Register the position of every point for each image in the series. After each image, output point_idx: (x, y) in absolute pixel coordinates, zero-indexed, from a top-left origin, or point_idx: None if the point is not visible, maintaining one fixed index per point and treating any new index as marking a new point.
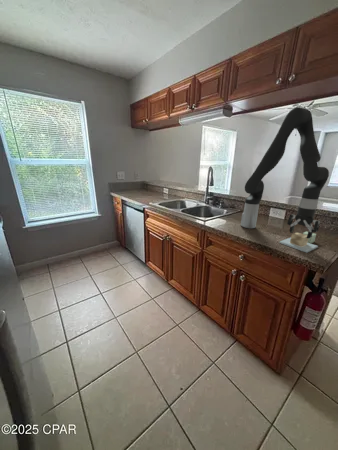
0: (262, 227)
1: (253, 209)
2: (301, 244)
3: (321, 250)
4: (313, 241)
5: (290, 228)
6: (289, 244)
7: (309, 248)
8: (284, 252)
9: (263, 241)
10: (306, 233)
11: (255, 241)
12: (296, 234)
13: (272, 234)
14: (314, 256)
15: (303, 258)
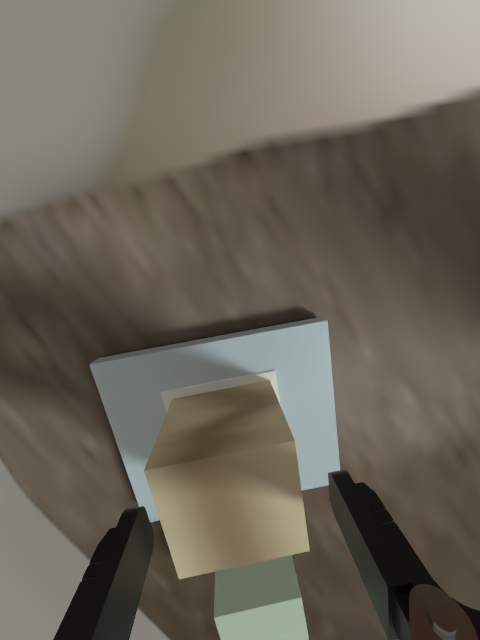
0: None
1: None
2: (172, 409)
3: (109, 494)
4: None
5: (395, 537)
6: (243, 341)
7: (124, 425)
8: (164, 178)
9: (413, 208)
10: (276, 614)
11: (455, 122)
12: (266, 488)
13: (460, 420)
14: (36, 357)
15: (21, 233)
